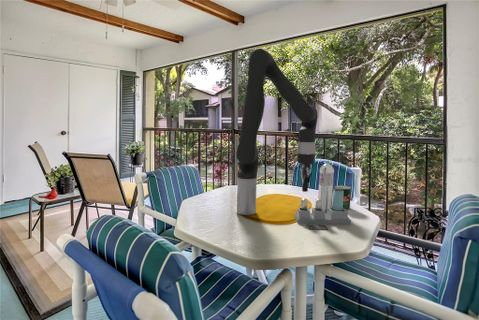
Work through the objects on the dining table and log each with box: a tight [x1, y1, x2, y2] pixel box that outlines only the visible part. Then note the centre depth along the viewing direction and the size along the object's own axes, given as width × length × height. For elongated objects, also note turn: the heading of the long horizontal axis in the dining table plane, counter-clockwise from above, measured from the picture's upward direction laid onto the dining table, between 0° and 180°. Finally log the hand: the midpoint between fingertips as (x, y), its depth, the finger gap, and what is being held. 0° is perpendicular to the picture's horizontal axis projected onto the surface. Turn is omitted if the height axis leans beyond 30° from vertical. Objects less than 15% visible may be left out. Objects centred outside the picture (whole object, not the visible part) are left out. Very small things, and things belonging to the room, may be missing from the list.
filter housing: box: [294, 207, 352, 226], centre depth 134 cm, size 23×9×6 cm, turn 88°
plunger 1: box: [300, 198, 308, 210], centre depth 133 cm, size 3×3×5 cm
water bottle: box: [317, 160, 335, 213], centre depth 148 cm, size 7×7×25 cm
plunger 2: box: [314, 198, 322, 211], centre depth 133 cm, size 3×3×5 cm
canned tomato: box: [334, 184, 352, 211], centre depth 154 cm, size 8×8×11 cm
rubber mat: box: [306, 224, 329, 231], centre depth 126 cm, size 8×5×1 cm, turn 88°
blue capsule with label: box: [332, 187, 344, 211], centre depth 133 cm, size 4×4×13 cm
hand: (304, 191), depth 132 cm, fingers closed
